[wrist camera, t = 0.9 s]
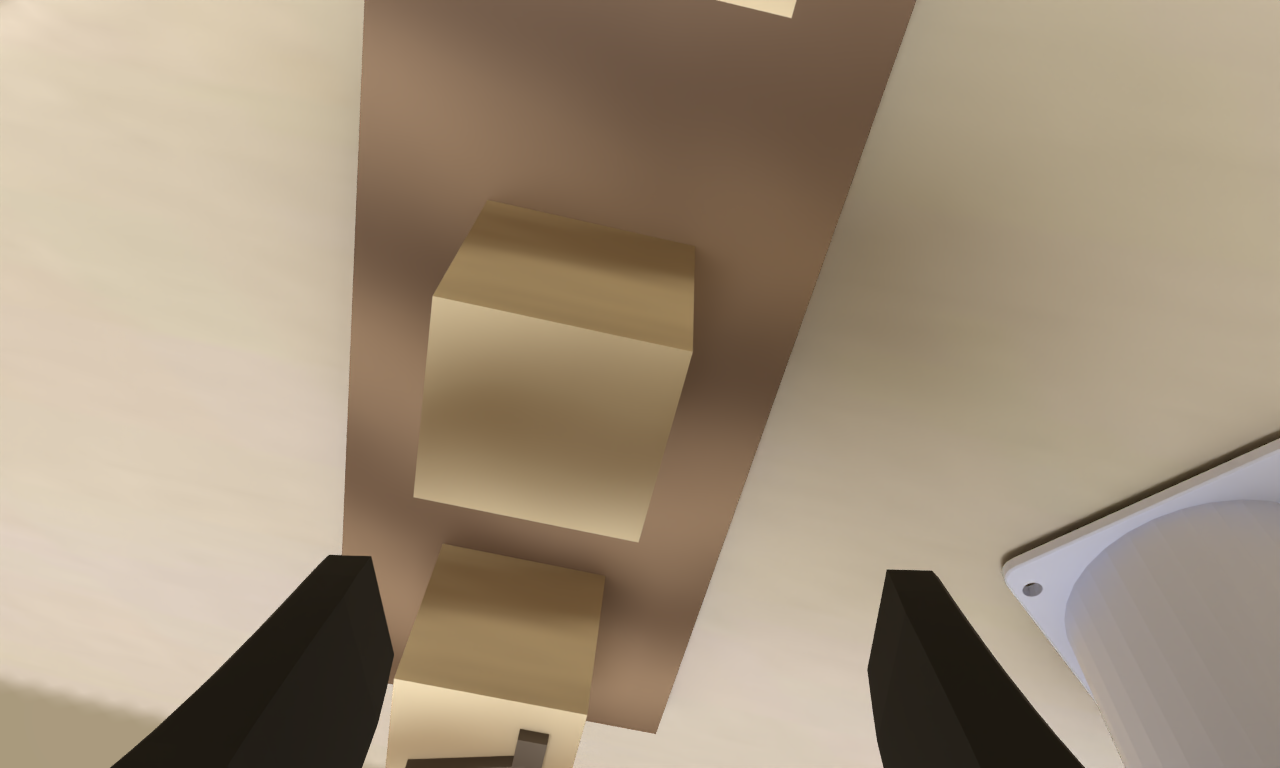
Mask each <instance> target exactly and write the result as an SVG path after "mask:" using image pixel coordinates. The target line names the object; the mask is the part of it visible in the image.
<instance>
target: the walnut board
mask: <svg viewBox="0 0 1280 768" xmlns="http://www.w3.org/2000/svg"><path fill="white" fill-rule="evenodd" d="M915 2H916V0H796V4H795V7H794V11H793V14H792V18H789V17H785V16H780V15H776V14H772V13H768V12H764V11H760V10H756V9H751V8H747V7H743V6H739V5H735V4H731V3H726V2H722V1H718V0H365V3H364V28H363V53H362V77H361V102H360V126H359V151H358V175H357V200H356V225H355V249H354V274H353V298H352V323H351V348H350V372H349V397H348V421H347V446H346V470H345V495H344V520H343V544H342V555H349V556H371V557H372V561H373V565H374V570H375V574H376V578H377V583H378V587H379V591H380V596H381V600H382V604H383V608H384V613H385V617H386V621H387V626H388V630H389V634H390V639H391V643H392V647H393V651H394V658H393V662H392V667H391V671H390V676H389V680H388V684H393V683H394V677H395V674H396V672H397V669H398V666H399V663H400V660H401V658H402V655H403V652H404V649H405V647H406V644H407V641H408V638H409V636H410V633H411V630H412V627H413V625H414V622H415V619H416V616H417V614H418V611H419V608H420V605H421V602H422V600H423V597H424V594H425V591H426V589H427V586H428V583H429V580H430V578H431V575H432V572H433V569H434V567H435V564H436V561H437V558H438V556H439V553H440V550H441V547H442V544H447V545H452V546H457V547H463V548H468V549H473V550H478V551H483V552H488V553H493V554H498V555H503V556H508V557H513V558H518V559H523V560H528V561H533V562H538V563H543V564H548V565H553V566H558V567H563V568H568V569H573V570H578V571H583V572H588V573H593V574H598V575H603V576H605V584H604V591H603V599H602V607H601V614H600V622H599V629H598V637H597V645H596V652H595V660H594V668H593V675H592V683H591V690H590V698H589V706H588V713H587V718H586V721H590V722H595V723H601V724H606V725H611V726H617V727H622V728H627V729H633V730H638V731H643V732H648V733H654V734H656V732H657V729H658V726H659V723H660V720H661V718H662V715H663V712H664V709H665V706H666V703H667V701H668V698H669V695H670V692H671V689H672V687H673V684H674V681H675V678H676V675H677V673H678V670H679V667H680V664H681V661H682V658H683V656H684V653H685V650H686V647H687V644H688V642H689V639H690V636H691V633H692V630H693V627H694V625H695V622H696V619H697V616H698V613H699V611H700V608H701V605H702V602H703V599H704V596H705V594H706V591H707V588H708V585H709V582H710V580H711V577H712V574H713V571H714V568H715V566H716V563H717V560H718V557H719V554H720V551H721V549H722V546H723V543H724V540H725V537H726V535H727V532H728V529H729V526H730V523H731V520H732V518H733V515H734V512H735V509H736V506H737V504H738V501H739V498H740V495H741V492H742V489H743V487H744V484H745V481H746V478H747V475H748V473H749V470H750V467H751V464H752V461H753V459H754V456H755V453H756V450H757V447H758V444H759V442H760V439H761V436H762V433H763V430H764V428H765V425H766V422H767V419H768V416H769V413H770V411H771V408H772V405H773V402H774V399H775V397H776V394H777V391H778V388H779V385H780V382H781V380H782V377H783V374H784V371H785V368H786V366H787V363H788V360H789V357H790V354H791V352H792V349H793V346H794V343H795V340H796V337H797V335H798V332H799V329H800V326H801V323H802V321H803V318H804V315H805V312H806V309H807V306H808V304H809V301H810V298H811V295H812V292H813V290H814V287H815V284H816V281H817V278H818V275H819V273H820V270H821V267H822V264H823V261H824V259H825V256H826V253H827V250H828V247H829V245H830V242H831V239H832V236H833V233H834V230H835V228H836V225H837V222H838V219H839V216H840V214H841V211H842V208H843V205H844V202H845V199H846V197H847V194H848V191H849V188H850V185H851V183H852V180H853V177H854V174H855V171H856V168H857V166H858V163H859V160H860V157H861V154H862V152H863V149H864V146H865V143H866V140H867V138H868V135H869V132H870V129H871V126H872V123H873V121H874V118H875V115H876V112H877V109H878V107H879V104H880V101H881V98H882V95H883V92H884V90H885V87H886V84H887V81H888V78H889V76H890V73H891V70H892V67H893V64H894V61H895V59H896V56H897V53H898V50H899V47H900V45H901V42H902V39H903V36H904V33H905V31H906V28H907V25H908V22H909V19H910V16H911V14H912V11H913V8H914V5H915ZM487 200H490V201H495V202H499V203H504V204H508V205H513V206H517V207H522V208H526V209H531V210H535V211H540V212H544V213H549V214H553V215H558V216H562V217H567V218H571V219H575V220H580V221H584V222H589V223H593V224H598V225H602V226H607V227H611V228H616V229H620V230H625V231H629V232H634V233H638V234H643V235H647V236H652V237H656V238H661V239H665V240H670V241H674V242H679V243H683V244H688V245H692V246H695V275H694V321H693V353H692V357H691V360H690V364H689V367H688V371H687V374H686V378H685V381H684V385H683V388H682V392H681V395H680V399H679V402H678V406H677V409H676V413H675V416H674V420H673V423H672V427H671V430H670V434H669V437H668V441H667V444H666V448H665V451H664V455H663V458H662V462H661V465H660V469H659V472H658V476H657V479H656V483H655V486H654V490H653V493H652V497H651V501H650V504H649V508H648V511H647V515H646V518H645V522H644V525H643V529H642V532H641V536H640V539H639V543H638V542H633V541H628V540H624V539H619V538H614V537H609V536H604V535H599V534H594V533H589V532H584V531H579V530H574V529H569V528H564V527H559V526H554V525H549V524H544V523H539V522H534V521H529V520H524V519H519V518H514V517H509V516H504V515H499V514H495V513H490V512H485V511H480V510H475V509H470V508H465V507H460V506H455V505H450V504H445V503H440V502H435V501H430V500H425V499H420V498H415V497H413V496H414V485H415V475H416V464H417V454H418V443H419V433H420V422H421V412H422V401H423V391H424V380H425V370H426V360H427V349H428V339H429V328H430V318H431V307H432V297H433V294H434V292H435V291H436V289H437V287H438V286H439V284H440V282H441V280H442V279H443V277H444V275H445V273H446V272H447V270H448V268H449V266H450V265H451V263H452V261H453V259H454V258H455V256H456V254H457V252H458V251H459V249H460V247H461V245H462V244H463V242H464V240H465V238H466V237H467V235H468V233H469V231H470V230H471V228H472V226H473V224H474V223H475V221H476V219H477V217H478V216H479V214H480V212H481V210H482V209H483V207H484V205H485V203H486V202H487Z"/></svg>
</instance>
